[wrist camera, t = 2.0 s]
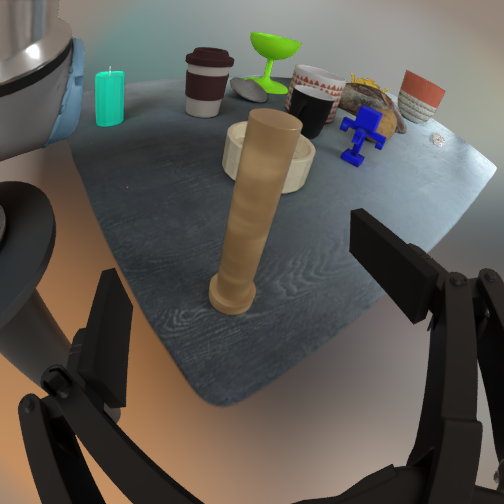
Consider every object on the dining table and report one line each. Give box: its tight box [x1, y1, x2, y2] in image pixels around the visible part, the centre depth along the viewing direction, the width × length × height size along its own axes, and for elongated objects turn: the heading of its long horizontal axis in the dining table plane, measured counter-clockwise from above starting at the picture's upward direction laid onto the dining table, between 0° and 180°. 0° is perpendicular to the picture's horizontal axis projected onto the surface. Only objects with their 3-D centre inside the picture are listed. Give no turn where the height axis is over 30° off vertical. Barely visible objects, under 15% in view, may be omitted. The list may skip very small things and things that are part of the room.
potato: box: [366, 109, 397, 142], centre depth 67 cm, size 9×16×9 cm, turn 130°
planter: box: [398, 70, 445, 123], centre depth 102 cm, size 20×20×21 cm
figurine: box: [340, 105, 386, 167], centre depth 53 cm, size 8×8×12 cm
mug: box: [288, 85, 335, 139], centre depth 57 cm, size 12×9×10 cm
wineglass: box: [243, 32, 301, 94], centre depth 79 cm, size 16×16×18 cm
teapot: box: [351, 73, 389, 93], centre depth 110 cm, size 15×14×10 cm
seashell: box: [230, 78, 268, 103], centre depth 72 cm, size 12×6×10 cm
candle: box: [95, 67, 125, 127], centre depth 47 cm, size 6×6×12 cm
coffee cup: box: [185, 47, 234, 118], centre depth 54 cm, size 10×10×15 cm
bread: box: [338, 83, 406, 134], centre depth 89 cm, size 27×32×10 cm
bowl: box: [222, 121, 316, 193], centre depth 44 cm, size 13×13×6 cm
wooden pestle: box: [209, 108, 302, 315], centre depth 23 cm, size 4×4×18 cm
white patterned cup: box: [285, 64, 346, 123], centre depth 69 cm, size 14×14×13 cm
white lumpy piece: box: [433, 133, 445, 147], centre depth 99 cm, size 6×28×1 cm, turn 142°
